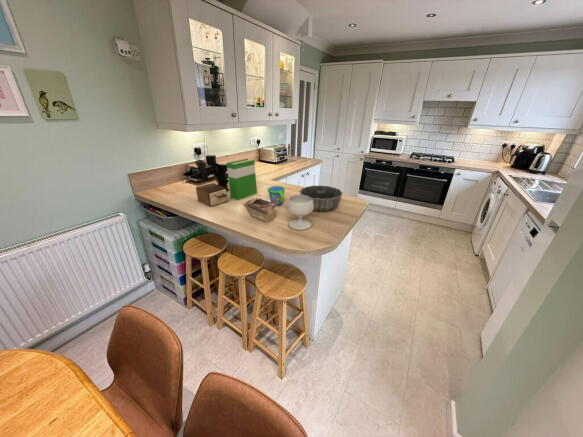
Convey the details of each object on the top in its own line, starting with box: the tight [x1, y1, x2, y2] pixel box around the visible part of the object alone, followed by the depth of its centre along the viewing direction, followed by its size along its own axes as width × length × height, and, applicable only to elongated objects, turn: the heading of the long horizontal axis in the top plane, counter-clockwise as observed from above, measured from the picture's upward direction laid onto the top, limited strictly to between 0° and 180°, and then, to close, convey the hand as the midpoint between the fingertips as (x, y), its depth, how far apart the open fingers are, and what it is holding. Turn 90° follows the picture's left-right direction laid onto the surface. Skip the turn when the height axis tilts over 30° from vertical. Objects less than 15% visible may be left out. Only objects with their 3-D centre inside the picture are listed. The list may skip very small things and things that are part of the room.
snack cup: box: [267, 185, 286, 206], centre depth 150 cm, size 16×10×10 cm
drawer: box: [209, 189, 228, 207], centre depth 151 cm, size 18×11×8 cm, turn 48°
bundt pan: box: [299, 184, 344, 212], centre depth 145 cm, size 26×26×10 cm
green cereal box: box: [226, 158, 258, 201], centre depth 160 cm, size 18×7×24 cm, turn 141°
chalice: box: [286, 194, 314, 231], centre depth 121 cm, size 14×14×15 cm
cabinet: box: [195, 182, 227, 207], centre depth 154 cm, size 15×13×10 cm
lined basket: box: [243, 197, 277, 223], centre depth 131 cm, size 13×20×10 cm, turn 43°
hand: (186, 175), depth 151 cm, fingers open, 9 cm apart
